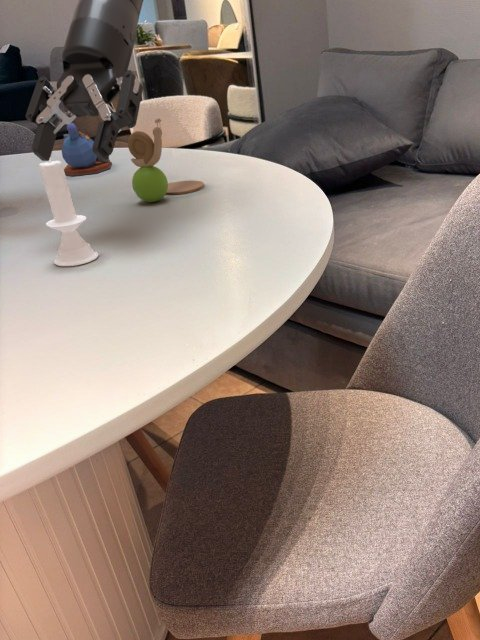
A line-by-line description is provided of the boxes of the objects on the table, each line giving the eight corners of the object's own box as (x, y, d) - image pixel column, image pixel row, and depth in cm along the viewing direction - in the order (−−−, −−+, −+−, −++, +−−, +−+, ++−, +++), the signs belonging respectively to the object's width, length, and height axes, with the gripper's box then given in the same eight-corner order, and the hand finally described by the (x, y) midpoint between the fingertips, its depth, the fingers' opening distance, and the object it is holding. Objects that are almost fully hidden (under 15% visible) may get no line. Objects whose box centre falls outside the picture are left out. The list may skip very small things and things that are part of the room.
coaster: (152, 196, 104) (152, 194, 103) (161, 185, 110) (160, 182, 110) (201, 192, 103) (200, 190, 103) (207, 181, 110) (206, 178, 110)
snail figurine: (165, 206, 97) (149, 122, 91) (129, 206, 99) (111, 123, 93) (182, 197, 102) (168, 115, 95) (147, 196, 104) (131, 117, 97)
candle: (107, 256, 79) (81, 154, 72) (69, 269, 75) (38, 164, 69) (83, 249, 82) (57, 151, 76) (46, 262, 79) (15, 160, 72)
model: (108, 172, 124) (96, 120, 119) (60, 178, 123) (46, 126, 118) (113, 160, 134) (102, 113, 129) (69, 166, 133) (56, 118, 128)
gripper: (34, 20, 77) (-1, 139, 74) (134, 9, 73) (101, 135, 70) (73, 64, 84) (42, 175, 81) (167, 57, 80) (138, 174, 77)
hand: (69, 156), depth 75 cm, fingers open, 8 cm apart
